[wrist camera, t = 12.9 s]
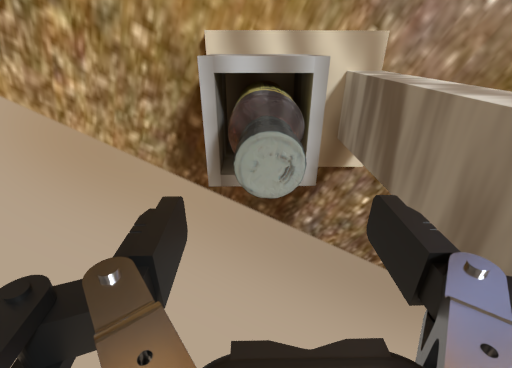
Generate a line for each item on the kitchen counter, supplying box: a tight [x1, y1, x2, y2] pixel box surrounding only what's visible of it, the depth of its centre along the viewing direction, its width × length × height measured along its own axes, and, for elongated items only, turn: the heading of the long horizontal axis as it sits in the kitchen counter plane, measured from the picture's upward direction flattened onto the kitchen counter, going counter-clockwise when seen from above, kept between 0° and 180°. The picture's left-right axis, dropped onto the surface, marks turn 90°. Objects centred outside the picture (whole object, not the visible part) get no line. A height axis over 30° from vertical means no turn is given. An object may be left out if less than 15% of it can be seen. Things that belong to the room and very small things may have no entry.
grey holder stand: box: [197, 30, 512, 276], centre depth 20 cm, size 20×16×30 cm
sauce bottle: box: [228, 81, 307, 198], centre depth 23 cm, size 6×6×20 cm
